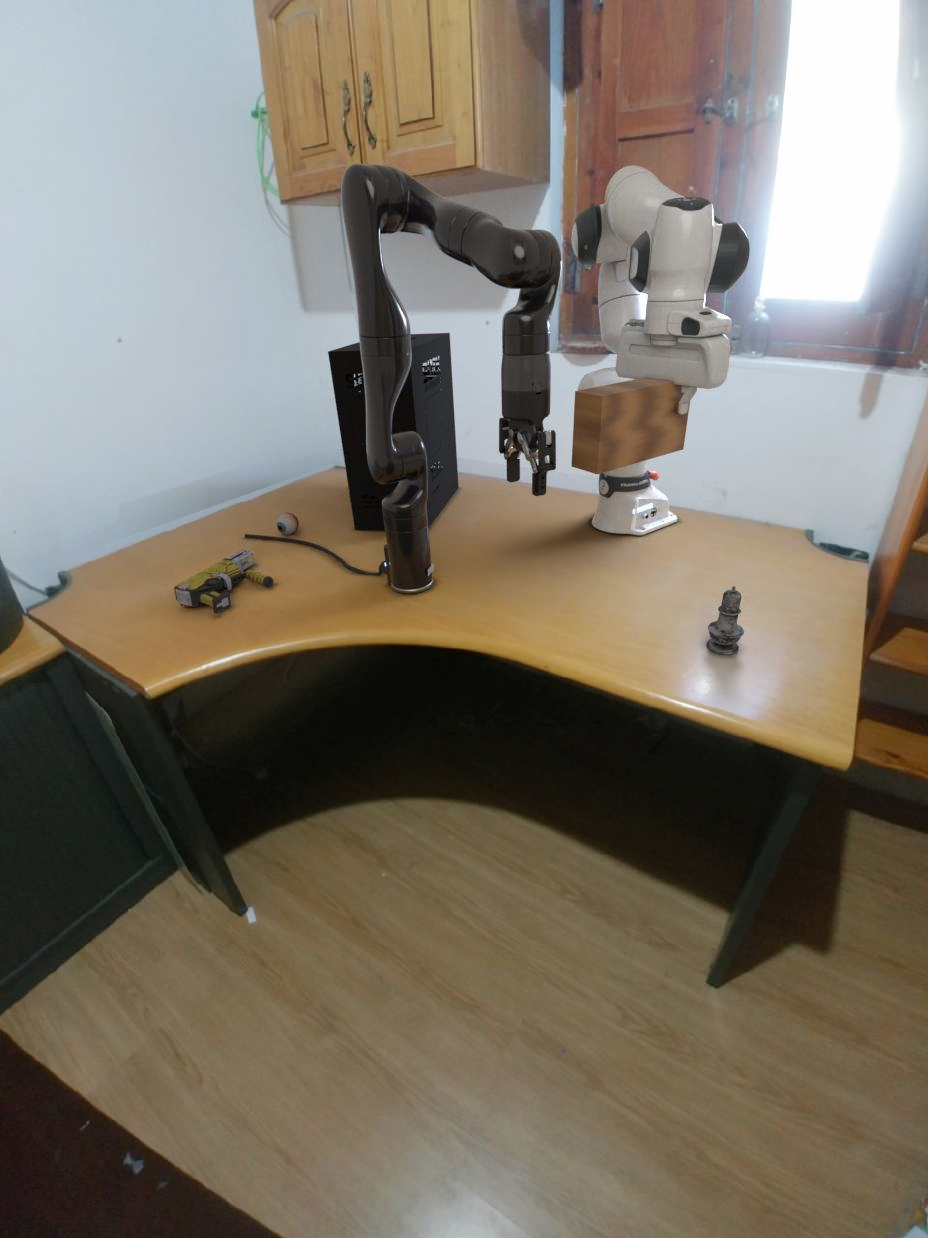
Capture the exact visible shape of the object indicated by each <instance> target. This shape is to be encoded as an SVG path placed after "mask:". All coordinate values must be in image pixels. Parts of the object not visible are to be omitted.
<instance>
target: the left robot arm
mask: <svg viewBox="0 0 928 1238" xmlns="http://www.w3.org/2000/svg"><path fill="white" fill-rule="evenodd" d="M340 185H341V187H340V200H341V201H340V202H341V213H342V220H343V225H344V231H345V237H346V243H347V248H348V253H349V260H350V264H351V270H352V271H351V272H352V278H353V285H354V286H353V287H354V294H355V303H356V312H357V329H358V340H359V341H358V342H360V352H361V360H362V367H363V377H364V388H365V400H366V449H367V460H368V465H369V469H370V472H371V474H372V476H373V478H374V479H375V481H376V482H378V483H379V484H390V483H394V482H398V481H399V483H398V484H397V486H396V487H395V488H394V490H393V491H391V492H390V493H389V494H388V495H387V496H385V497H384V499H383V500H382V512H383V519H384V527H385V531H384V535H385V541H386V542H385V543H386V544H385V545H383V553H384V560H382V561H381V562H380V564H379V565H378V571H377V572H370V571H365V570H364V569H361V568H357V567H355V566H352V565H350V564H348V563H347V561H345V560H344V558H342V557H340V555H337V554H336V553H335V552H333V551H331V550H330V549H328V548H327V547H324V546H321V545H319V544H317V543H314V542H310V541H308V540H302V539H296V538H291V537H283V536H274V535H273V536H272V535H260V534H249V533H245V534H244V538H248V539H249V538H250V539H251V538H252V539H260V540H271V541H281V542H282V541H283V542H289V543H295V544H301V545H305V546H309V547H313V548H316V549H318V550H320V551H322V552H324V553H326V554H328V555H329V556H331V557H333V558H334V559H335V560H337V561H338V562H340V564H342V565H343V566H344V567H345V568H346V569H348V570H350V571H351V572H352V571H353V572H355V573H358V574H361V575H365V576H382V575H386V577H387V584H388V586H390V587H391V589H392V590H393V591H395V592H397V593H399V594H404V595H405V594H406V595H407V594H410V595H411V594H419V593H422V592H423V593H424V592H425V591H427V590H429V589H431V588H432V586H433V585H434V577H433V571H434V570H435V563H434V562H432V555H431V543H430V532H429V528H428V519H427V507H426V502H427V498H428V477H427V456H426V450H425V446H424V443H423V441H422V439H421V437H420V436H419V435H418V434H417V433H416V432H414V431H411V430H407V431H401V432H397V433H392V417H393V411H394V407H395V404H396V401H397V399H398V396H399V394H400V392H401V390H402V388H403V385H404V383H405V381H406V378H407V376H408V373H409V370H410V367H411V362H412V352H411V351H412V349H411V334H412V333H411V324H410V323H411V322H410V319H409V317H408V314H407V310H406V309H405V307H404V305H403V303H402V301H401V299H400V298H399V296H398V294H397V292H396V291H395V289H394V287H393V284H392V283H391V281H390V278H389V277H388V274H387V271H386V267H385V263H384V257H383V256H384V255H383V249H382V238H381V235H392V234H393V235H394V234H396V233H397V234H398V233H409V234H415V235H419V236H422V237H425V238H427V239H429V240H430V241H431V242H432V244H433V245H434V246H435V248H436V249H438V251H440V252H441V253H442V254H444V255H445V256H447V257H449V258H451V259H453V260H454V261H457V262H459V263H462V264H464V265H465V266H469V267H471V268H474V269H476V271H478V272H479V273H480V274H481V275H482V276H483V277H485V278H486V279H487V280H488V281H490V282H491V283H493V284H494V285H497V286H498V287H501V288H504V289H509V290H519V293H518V297H517V301H516V304H515V306H513V307H512V308H510V309H509V310H507V311H506V312H505V313H504V314H503V317H502V321H501V333H502V334H501V343H502V344H501V349H502V350H501V353H502V354H501V367H500V389H501V391H500V392H501V394H500V395H501V416H502V417H499V419H498V452H499V454H500V455H502V454H503V458H504V460H506V481H507V482H508V483H516V482H520V479H521V459H520V457H521V455H522V454H524V455H523V456H524V457H525V460H526V461H527V462H529V464H530V466H531V470H532V473H531V494H532V496H534V497H541V496H544V495H546V493H547V479H548V478H547V476H548V475H547V474H548V472H550V471H555V470H556V469H557V433H556V431H555V430H554V429H551V430H545V428H544V420H545V419H546V418H548V417H549V416H550V415H551V390H552V387H551V385H552V364H551V354H550V350H551V347H550V346H551V319H552V318H551V317H552V314H553V311H554V307H555V303H556V299H557V294H558V290H559V285H560V280H561V276H562V269H563V267H562V265H563V260H562V252H561V248H560V245H559V242H558V240H557V238H556V237H555V235H554V234H553V233H552V232H550V231H549V230H546V229H517V228H516V229H515V228H511V227H506V226H505V225H504V224H503V222H502V221H501V220H500V219H499V218H498V217H496V216H494V215H493V214H490V213H488V212H485V211H483V210H480V209H478V208H475V207H472V206H470V205H468V204H464V203H461V202H458V201H455V200H453V199H450V198H448V197H445V196H443V195H441V194H439V193H437V192H435V191H433V190H432V189H430V188H428V187H427V186H426V185H424V184H422V183H421V182H420V181H418V180H417V179H416V178H414V177H413V176H411V175H410V174H408V173H407V172H405V171H403V170H402V169H400V168H398V167H396V166H393V165H386V164H384V165H383V164H371V163H354V164H350V165H349V166H348V167H347V168H346V169H345V171H344V173H343V176H342V180H341V184H340Z"/></svg>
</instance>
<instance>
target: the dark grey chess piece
mask: <svg viewBox="0 0 928 1238" xmlns="http://www.w3.org/2000/svg"><path fill="white" fill-rule="evenodd" d="M741 601H742V593H741V592H740V591H739V590H737V588H736V586H735V585H733V586H731V589H727V590H725V591H724V592H723V594H722V599H721V603H720V604H721V605H720V606H719V607H718V608H717V610H718V618H717V620H715V621H714V620H713V621H711V622H710V623H708V625H707V630H708V634H709V637H710V639H708V640H707V641H706V647H707V648H708V649H709V650H710V651H712V652H714V653H716V654H719V655H733V654H736V653H738V651H739V649H740V646H739V645H738V644H737V643H738V642H739V641H740V639H741V638H742V636H743V635H744V634H745V630H744V628H743V626H741V625H740V624H738V619H739V616H740V614H741V613H742V609H741V608H740V606H741Z"/></svg>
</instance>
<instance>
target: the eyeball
mask: <svg viewBox="0 0 928 1238" xmlns="http://www.w3.org/2000/svg"><path fill="white" fill-rule="evenodd" d="M299 525H300V522H299V519H298V517H297V516H296V515H295V514H294V513H292V512H287V511H286V512H282V513H280V514H279V515H278V516H277V517H276V520H275V527H276V529H277V530H278V531H279V532H280V533H281V534H282V535H285V536H286V535H287V536H289V535H293V534H295V533H296V532H297V531H298V529H299Z"/></svg>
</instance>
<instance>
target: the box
mask: <svg viewBox="0 0 928 1238" xmlns="http://www.w3.org/2000/svg"><path fill="white" fill-rule="evenodd" d="M681 390H682V385H675V384H674V381H668V380H661V379H653V378H646V377H645V378H640V379H635V380H630V381H625V382H620V383H614V384H609V385H604V386H599V387H594V388H589V389H584V390H579V391H577V390H575V391H574V407H573V410H574V411H573V427H572V429H573V430H572V446H571V447H572V449H571V467H572V468H575V469H577V470H582V471H585V472H587V473H591V474H595V475H599V474H601V473H604V472H608V471H611V470H614V469H618V468H621V467H625V466H628V465H632V464H635V463H638V462H642V461H645V460H647V461H648V460H652V459H655V458H658V457H659V458H660V457H662V456H666V455H669V454H673V453H676V452H680V451H683V450H684V447H685V442H686V441H685V440H686V435H687V434H686V433H687V426H688V419H689V414H690V413H689V412H690V406H691V401H690V402H689V404H688V411H687V413H686V414H677V413H674V405H675V402H679V401H680V400H681V398H682V396H683V394H684V393H682V392H681Z"/></svg>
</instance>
